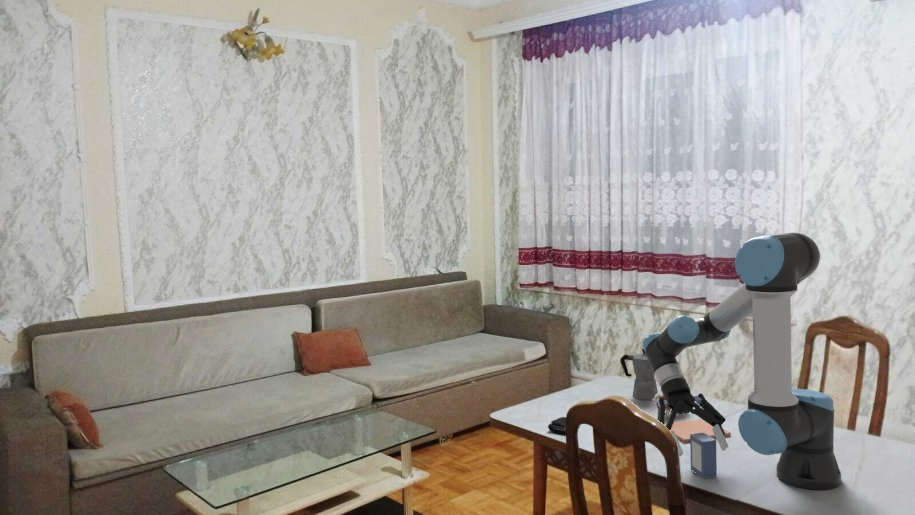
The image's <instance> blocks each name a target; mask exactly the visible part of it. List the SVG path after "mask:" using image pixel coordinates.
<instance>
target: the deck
mask: <svg viewBox="0 0 915 515" xmlns="http://www.w3.org/2000/svg"><path fill="white" fill-rule="evenodd" d="M689 444H690V451H689V452H690V470H691V471H692V470H693V471H694V473H695V472H696V473H697V475H698V474H699V475H700V476H699V475H698V476H699V477H701V476H702V477H703V479H707V478H706V477H708V478H714V477H713V476H715V477H717V475H718V473H717V471H718V469H717V467H718V465H717V439H716V438H712V437H710V436H708V435H707V434H705V433H697V434H690V442H689ZM693 471H692V472H693ZM696 473H695V474H696ZM702 477H701V478H702Z"/></svg>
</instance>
